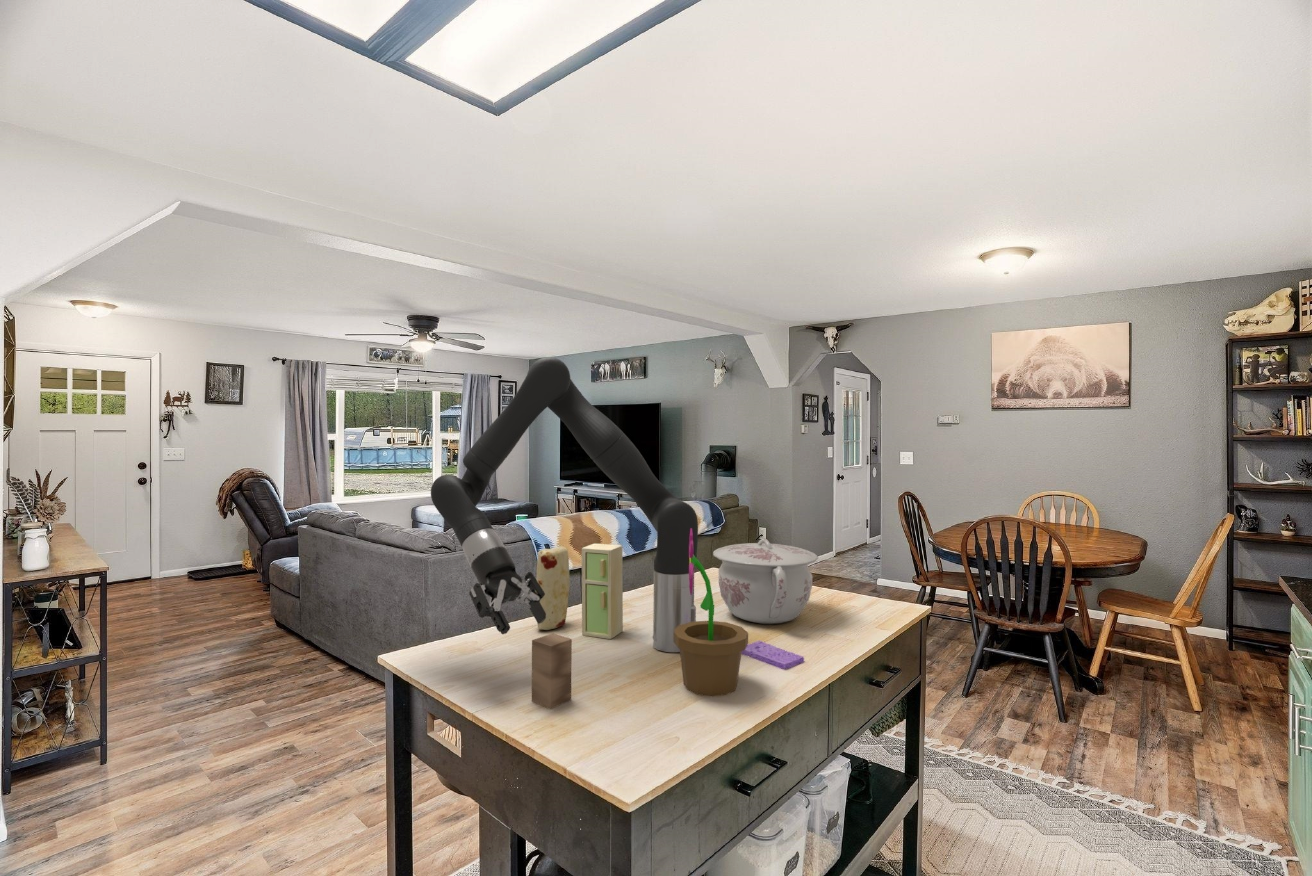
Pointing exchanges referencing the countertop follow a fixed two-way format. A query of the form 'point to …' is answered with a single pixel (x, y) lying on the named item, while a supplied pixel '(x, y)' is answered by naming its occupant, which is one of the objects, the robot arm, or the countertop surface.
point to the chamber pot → (765, 580)
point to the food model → (553, 585)
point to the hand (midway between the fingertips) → (525, 626)
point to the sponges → (772, 655)
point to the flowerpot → (709, 646)
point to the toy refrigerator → (602, 590)
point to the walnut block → (551, 670)
